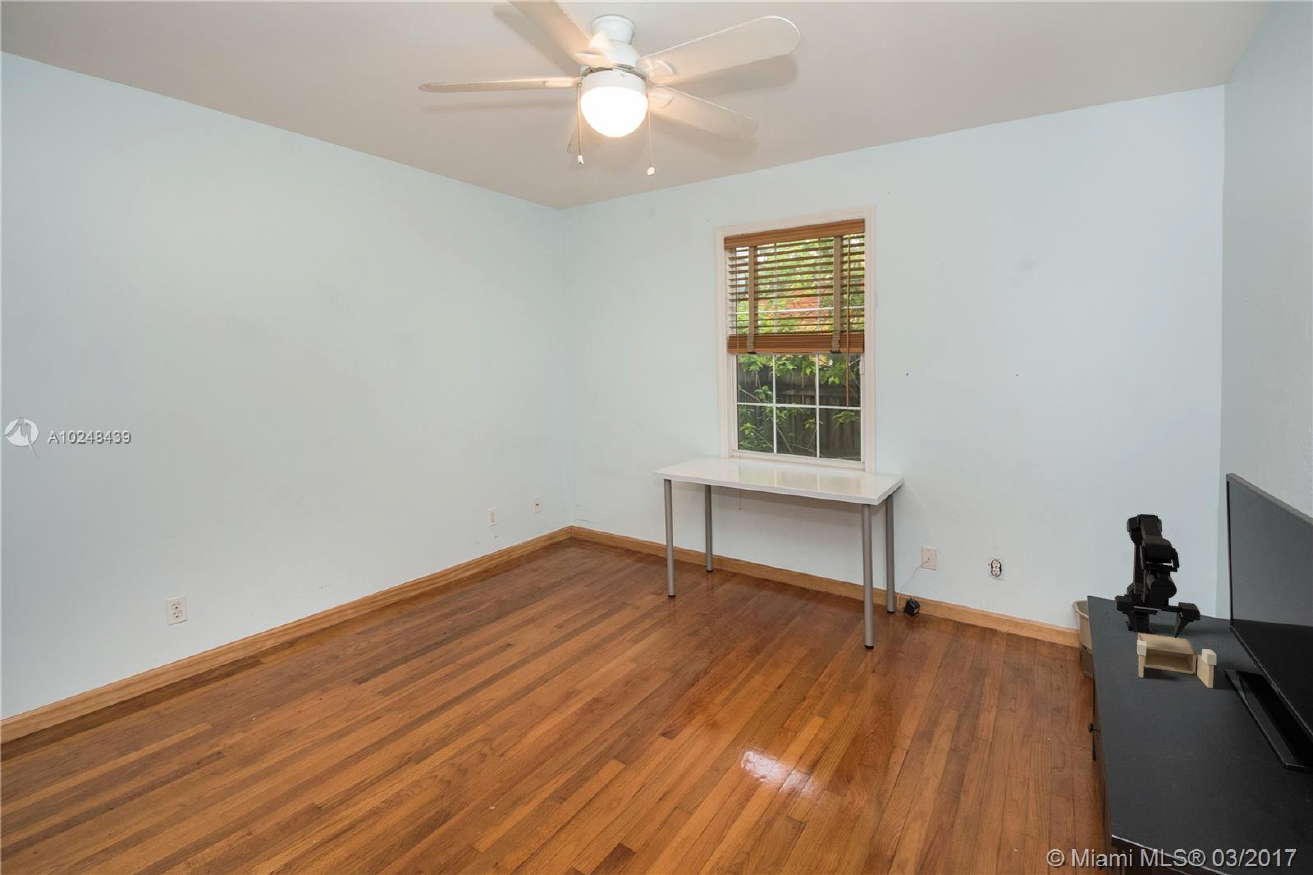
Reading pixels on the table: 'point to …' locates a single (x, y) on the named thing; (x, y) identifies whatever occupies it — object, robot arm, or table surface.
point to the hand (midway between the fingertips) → (1154, 634)
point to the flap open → (1206, 666)
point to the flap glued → (1141, 655)
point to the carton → (1169, 653)
